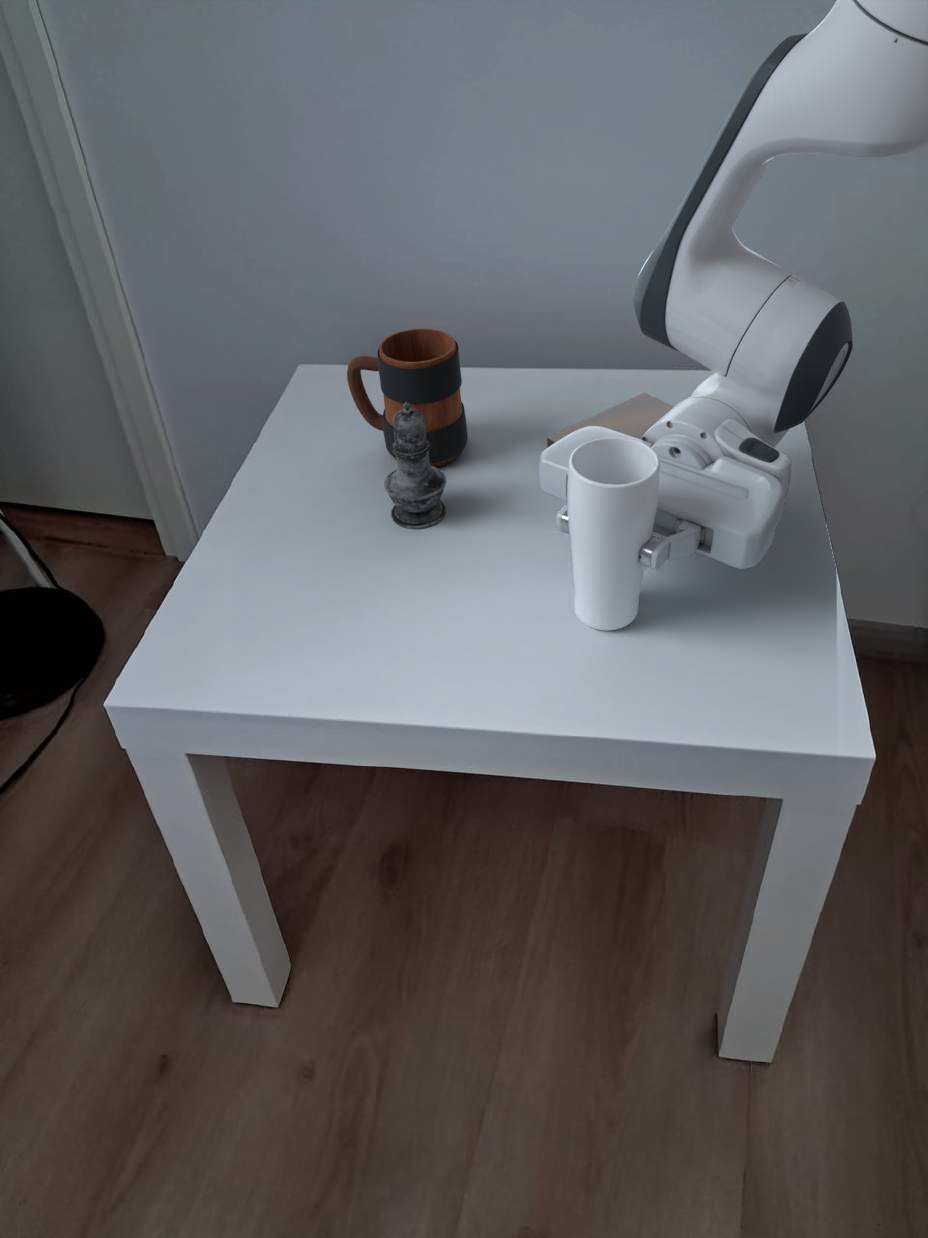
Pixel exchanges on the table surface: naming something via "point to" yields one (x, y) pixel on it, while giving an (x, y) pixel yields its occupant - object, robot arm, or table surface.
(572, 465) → the drinking glass
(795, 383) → the robot arm
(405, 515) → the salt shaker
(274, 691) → the table surface
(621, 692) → the table surface
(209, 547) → the table surface
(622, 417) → the walnut board
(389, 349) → the mug
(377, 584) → the table surface
